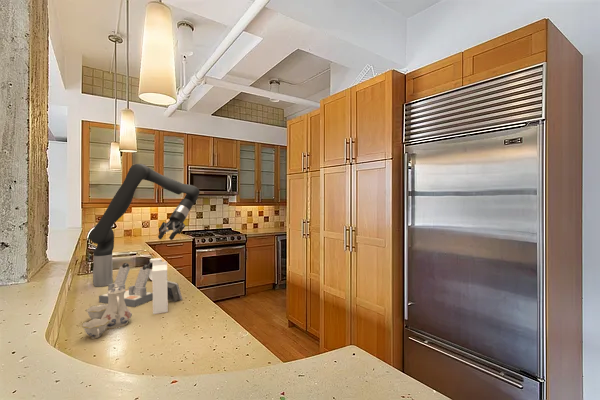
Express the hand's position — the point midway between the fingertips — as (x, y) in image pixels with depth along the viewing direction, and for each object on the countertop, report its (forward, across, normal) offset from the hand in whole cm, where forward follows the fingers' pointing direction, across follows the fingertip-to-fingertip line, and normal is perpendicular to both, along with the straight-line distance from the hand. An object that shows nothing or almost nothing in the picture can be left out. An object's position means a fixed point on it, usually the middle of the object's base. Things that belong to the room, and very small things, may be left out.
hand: (165, 238), depth 168 cm
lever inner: (+29, -15, +6) cm, 33 cm away
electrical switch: (+27, +12, +14) cm, 33 cm away
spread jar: (+6, -25, +34) cm, 43 cm away
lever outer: (+29, -2, +6) cm, 30 cm away
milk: (+36, +17, +4) cm, 40 cm away
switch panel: (+32, -9, +8) cm, 34 cm away
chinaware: (+50, +9, -9) cm, 52 cm away
